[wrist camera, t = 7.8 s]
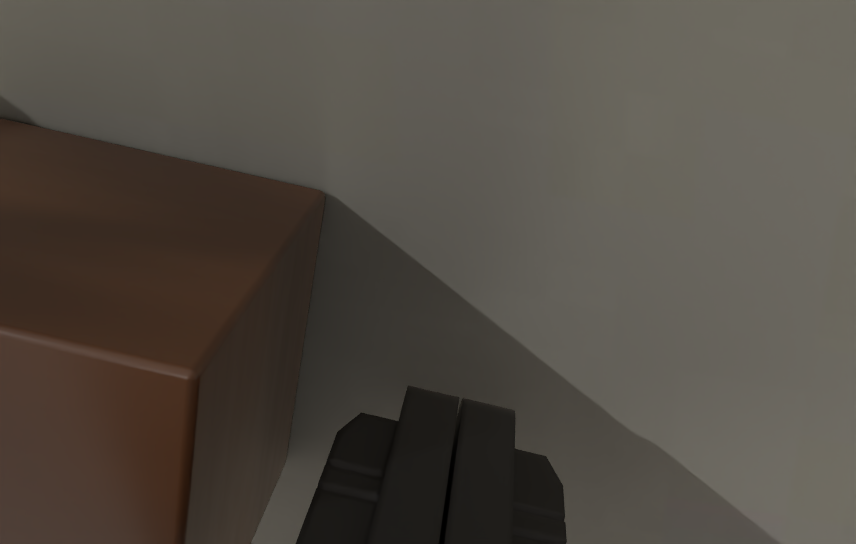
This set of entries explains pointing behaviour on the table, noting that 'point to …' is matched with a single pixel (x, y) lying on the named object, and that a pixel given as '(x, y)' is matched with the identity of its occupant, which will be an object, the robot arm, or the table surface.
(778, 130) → the table surface
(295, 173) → the table surface
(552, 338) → the table surface
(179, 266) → the walnut block
